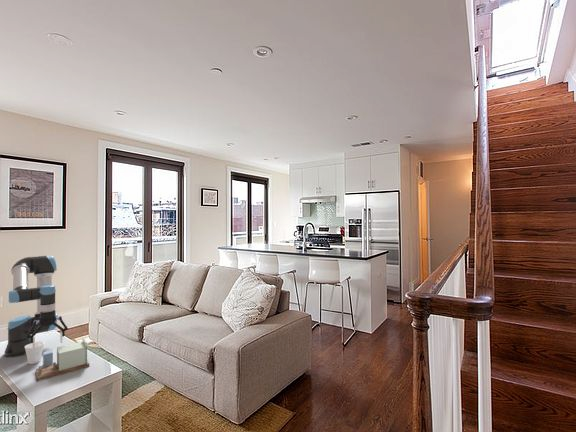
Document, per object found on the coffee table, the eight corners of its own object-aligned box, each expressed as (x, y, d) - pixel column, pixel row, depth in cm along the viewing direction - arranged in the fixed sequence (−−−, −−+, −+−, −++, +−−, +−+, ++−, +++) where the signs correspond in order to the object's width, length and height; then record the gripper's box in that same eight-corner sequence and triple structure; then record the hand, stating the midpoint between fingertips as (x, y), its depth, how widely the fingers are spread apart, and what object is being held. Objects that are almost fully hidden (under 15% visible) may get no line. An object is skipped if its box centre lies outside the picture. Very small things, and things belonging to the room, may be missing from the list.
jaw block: (43, 365, 192) (43, 352, 192) (52, 362, 195) (52, 350, 195) (43, 367, 188) (43, 354, 188) (52, 365, 191) (52, 352, 191)
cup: (33, 366, 190) (33, 348, 190) (20, 365, 192) (20, 347, 192) (48, 359, 200) (48, 342, 200) (36, 357, 202) (36, 341, 202)
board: (35, 371, 184) (35, 363, 184) (85, 358, 201) (85, 351, 201) (37, 380, 173) (37, 372, 173) (89, 366, 190) (89, 359, 190)
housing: (56, 364, 190) (56, 342, 190) (83, 357, 199) (83, 337, 199) (58, 370, 181) (58, 348, 181) (87, 363, 190) (87, 342, 190)
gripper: (21, 316, 181) (21, 352, 180) (72, 307, 197) (73, 341, 197) (21, 313, 186) (21, 348, 186) (71, 305, 203) (71, 337, 203)
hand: (47, 344), depth 191 cm, fingers open, 13 cm apart
